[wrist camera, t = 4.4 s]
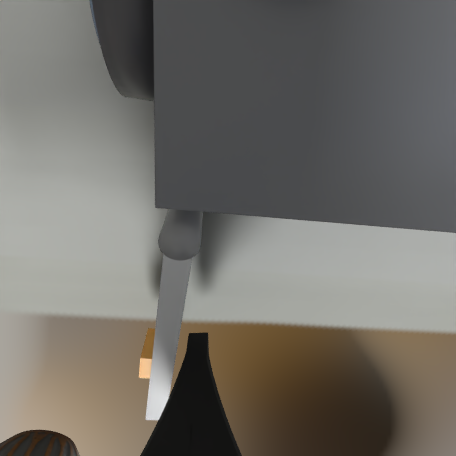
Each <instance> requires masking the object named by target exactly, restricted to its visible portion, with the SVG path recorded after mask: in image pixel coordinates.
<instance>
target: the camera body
mask: <svg viewBox="0 0 456 456" xmlns="http://www.w3.org/2000/svg"><path fill="white" fill-rule="evenodd" d="M90 6H91V11H92V17H93V21H94V25H95V29H96V33H97V36H98V39H99V43H100V45H101V49H102V52H103V56H104V59H105V62H106V66H107V69H108V71H109V74H110V76H111V79H112V81H113V83H114V85H115V87H116V88H117V90H118V91H119V92H120V94H121V95H123V96H124V97H128V98H136V99H144V100H152V101H154V120H155V208H165V209H177V210H189V211H201V212H213V213H225V214H237V215H248V216H260V217H272V218H284V219H296V220H308V221H320V222H332V223H344V224H356V225H368V226H380V227H392V228H404V229H416V230H428V231H440V232H452V233H456V0H90Z"/></svg>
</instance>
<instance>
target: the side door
mask: <svg viewBox="0 0 456 456" xmlns="http://www.w3.org/2000/svg"><path fill="white" fill-rule="evenodd" d="M202 217H203V212H201V211H189V210H177V209H169V210H168V213H167V216H166V218H165V221H164V224H163V227H162V230H161V233H160V235H159V239H158V245H159V248H160V250H161V251H162V253H163V262H162V272H161V281H160V290H159V300H158V309H157V318H156V328H155V329H152V328H148V331H147V335H146V339H145V342H144V346H143V350H142V354H141V358H140V370H139V378H150V384H149V393H148V403H147V412H146V420H159V418H160V416H161V414H162V412H163V410H164V407H165V405H166V403H167V401H168V399H169V393H170V387H171V381H172V375H173V369H174V363H175V357H176V351H177V346H178V339H179V334H180V327H181V322H182V316H183V310H184V304H185V298H186V292H187V286H188V281H189V275H190V269H191V263H192V258H193V257H194V256H195V255H196V254H197V253H198V252H199V250H200V247H201V234H202Z"/></svg>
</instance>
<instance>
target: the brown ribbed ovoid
mask: <svg viewBox="0 0 456 456" xmlns="http://www.w3.org/2000/svg"><path fill="white" fill-rule="evenodd" d="M0 456H80V455H79V453H78V450H77V448H76V446H75V444H74V442H73V441H72V440H71V439H70V438H68V437H67V436H65V435H63V434H60V433H57V432H53V431H47V430H30V431H25V432H21V433H19V434H17V435H15V436H13V437H11V438H9V439H7V440H6V441H4V442H2V443H0Z"/></svg>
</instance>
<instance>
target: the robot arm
mask: <svg viewBox="0 0 456 456" xmlns="http://www.w3.org/2000/svg"><path fill="white" fill-rule="evenodd" d="M140 456H242V455H241V453H240V450H239V448H238V446H237V443H236V441H235V438H234V436H233V433H232V431H231V428H230V425H229V423H228V420H227V417H226V414H225V411H224V408H223V406H222V403H221V400H220V397H219V394H218V390H217V387H216V383H215V379H214V376H213V372H212V368H211V364H210V359H209V348H208V333H189V336H188V343H187V351H186V354H185V358H184V361H183V363H182V367H181V369H180V372H179V374H178V377H177V379H176V382H175V385H174V387H173V389H172V392H171V394H170V396H169V399H168V401H167V403H166V405H165V407H164V410H163V412H162V414H161V416H160V418H159V420H158V422H157V425H156V427H155V429H154V431H153V433H152V435H151V436H150V439H149V440H148V442H147V445H146V446H145V448H144V450H143V452H142V453H141V455H140Z"/></svg>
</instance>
